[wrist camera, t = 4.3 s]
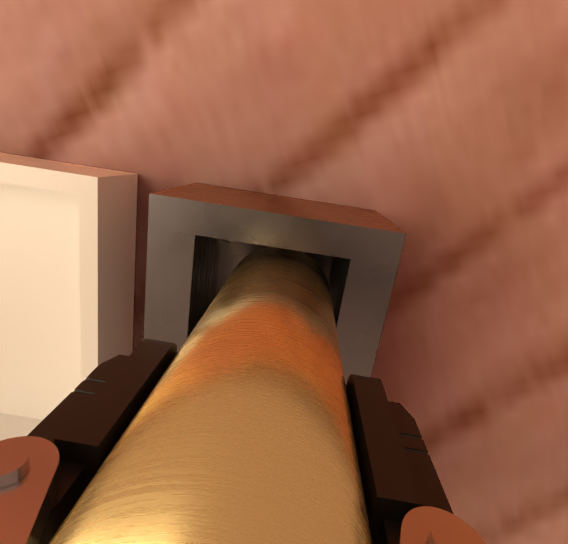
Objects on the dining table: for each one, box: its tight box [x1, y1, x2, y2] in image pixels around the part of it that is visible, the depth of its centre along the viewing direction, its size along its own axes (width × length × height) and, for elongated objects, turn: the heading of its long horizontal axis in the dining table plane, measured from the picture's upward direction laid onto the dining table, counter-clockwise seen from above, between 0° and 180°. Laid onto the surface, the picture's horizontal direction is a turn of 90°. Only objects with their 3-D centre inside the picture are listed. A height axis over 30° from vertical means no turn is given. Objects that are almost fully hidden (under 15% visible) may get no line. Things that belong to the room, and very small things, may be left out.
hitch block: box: [144, 183, 406, 384], centre depth 18 cm, size 9×18×6 cm, turn 172°
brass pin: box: [49, 247, 372, 544], centre depth 10 cm, size 4×4×13 cm
